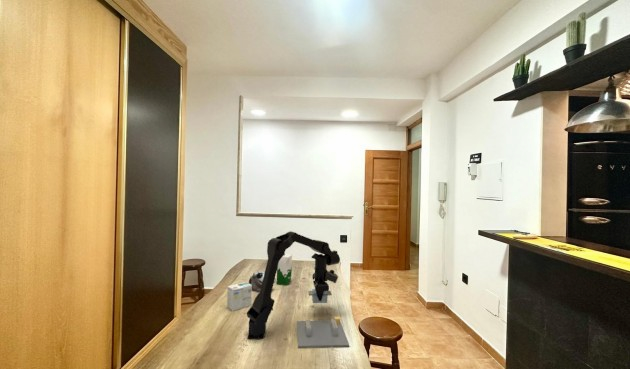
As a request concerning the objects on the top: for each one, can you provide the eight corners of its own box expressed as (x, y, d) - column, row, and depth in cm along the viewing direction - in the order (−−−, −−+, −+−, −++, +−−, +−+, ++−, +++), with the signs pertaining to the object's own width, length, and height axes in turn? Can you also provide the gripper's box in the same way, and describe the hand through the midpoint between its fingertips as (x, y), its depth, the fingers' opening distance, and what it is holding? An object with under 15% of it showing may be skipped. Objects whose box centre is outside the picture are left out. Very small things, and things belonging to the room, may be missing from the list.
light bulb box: (245, 301, 149) (245, 281, 149) (251, 305, 144) (252, 284, 144) (226, 307, 141) (227, 285, 142) (232, 311, 137) (233, 289, 137)
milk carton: (279, 280, 184) (280, 249, 184) (292, 281, 182) (293, 250, 182) (274, 284, 175) (275, 252, 175) (288, 286, 173) (289, 254, 174)
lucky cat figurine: (273, 284, 176) (279, 267, 171) (269, 298, 165) (276, 281, 160) (250, 277, 175) (255, 260, 169) (245, 291, 163) (250, 273, 158)
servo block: (308, 303, 134) (309, 291, 134) (308, 299, 138) (308, 288, 138) (331, 302, 135) (331, 291, 135) (330, 299, 139) (330, 288, 139)
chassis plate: (298, 348, 108) (298, 336, 108) (296, 322, 127) (297, 313, 128) (349, 347, 109) (349, 335, 109) (340, 322, 129) (340, 312, 129)
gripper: (340, 272, 128) (339, 307, 128) (333, 261, 147) (333, 291, 147) (316, 272, 127) (315, 307, 127) (312, 261, 146) (311, 291, 146)
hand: (319, 298), depth 137 cm, fingers closed on servo block, 4 cm apart
